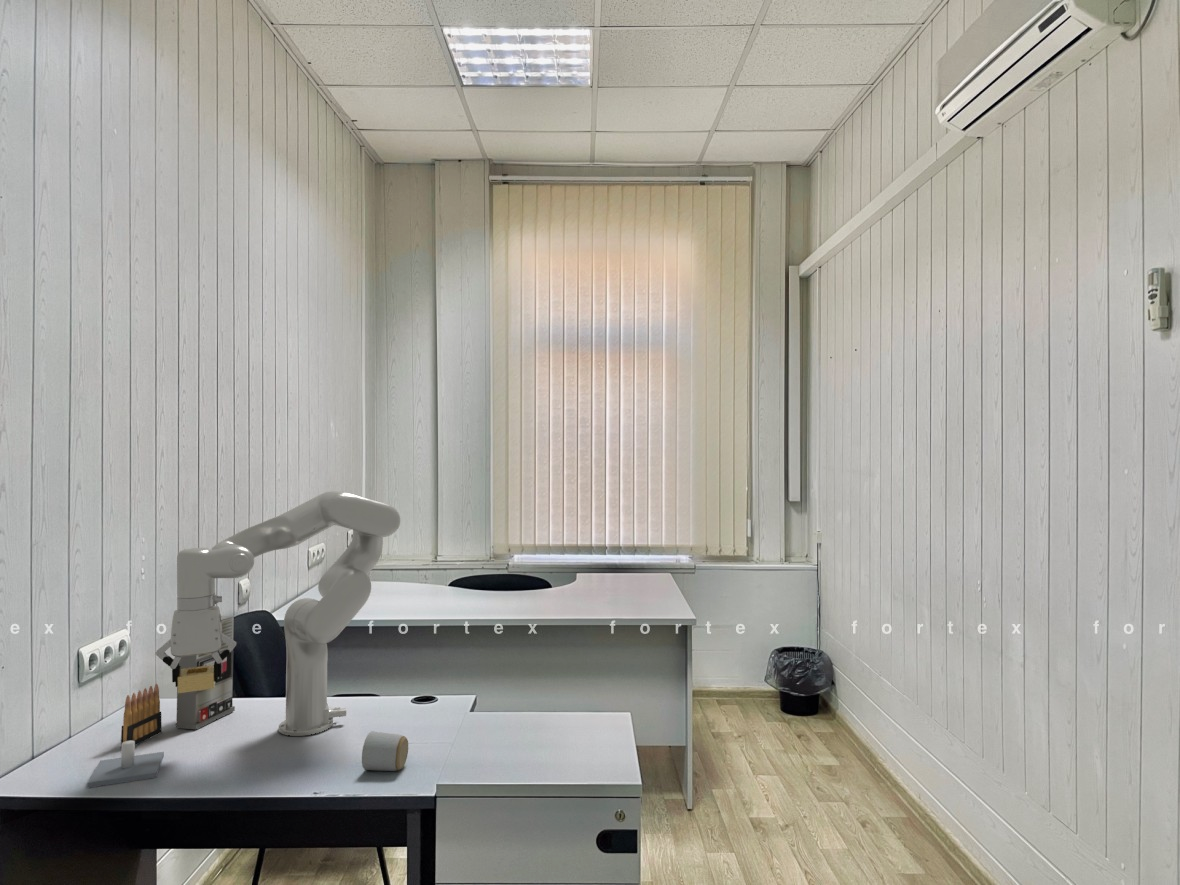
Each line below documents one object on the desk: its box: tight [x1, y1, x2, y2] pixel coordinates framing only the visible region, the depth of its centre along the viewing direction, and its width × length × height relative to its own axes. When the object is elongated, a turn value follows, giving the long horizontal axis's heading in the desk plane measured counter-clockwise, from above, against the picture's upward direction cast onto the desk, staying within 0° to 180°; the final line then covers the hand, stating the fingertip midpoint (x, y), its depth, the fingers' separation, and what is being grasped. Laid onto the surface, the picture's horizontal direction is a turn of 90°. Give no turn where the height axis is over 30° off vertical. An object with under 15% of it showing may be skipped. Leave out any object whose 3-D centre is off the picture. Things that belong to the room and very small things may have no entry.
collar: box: [178, 665, 215, 693], centre depth 164 cm, size 7×7×4 cm
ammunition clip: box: [120, 683, 163, 746], centre depth 172 cm, size 11×2×12 cm, turn 171°
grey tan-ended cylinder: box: [361, 730, 409, 772], centre depth 157 cm, size 11×8×8 cm
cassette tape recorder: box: [175, 615, 236, 731], centre depth 186 cm, size 14×6×25 cm, turn 168°
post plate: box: [87, 741, 165, 788], centre depth 154 cm, size 12×12×6 cm
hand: (197, 681), depth 164 cm, fingers closed on collar, 7 cm apart
